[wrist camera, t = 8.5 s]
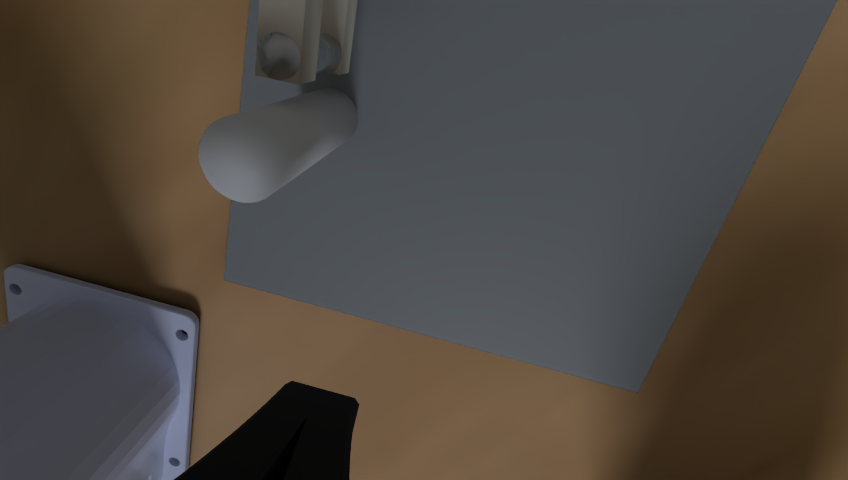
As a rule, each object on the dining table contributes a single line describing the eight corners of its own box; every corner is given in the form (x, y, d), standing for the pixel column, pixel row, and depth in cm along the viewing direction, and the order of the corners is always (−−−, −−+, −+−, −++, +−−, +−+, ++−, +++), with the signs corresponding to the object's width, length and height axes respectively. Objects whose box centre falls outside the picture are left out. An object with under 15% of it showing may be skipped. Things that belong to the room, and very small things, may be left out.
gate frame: (633, 382, 19) (707, 556, 13) (231, 273, 20) (104, 388, 13) (1004, -361, 11) (1719, -914, 5) (311, -528, 11) (83, -1263, 5)
